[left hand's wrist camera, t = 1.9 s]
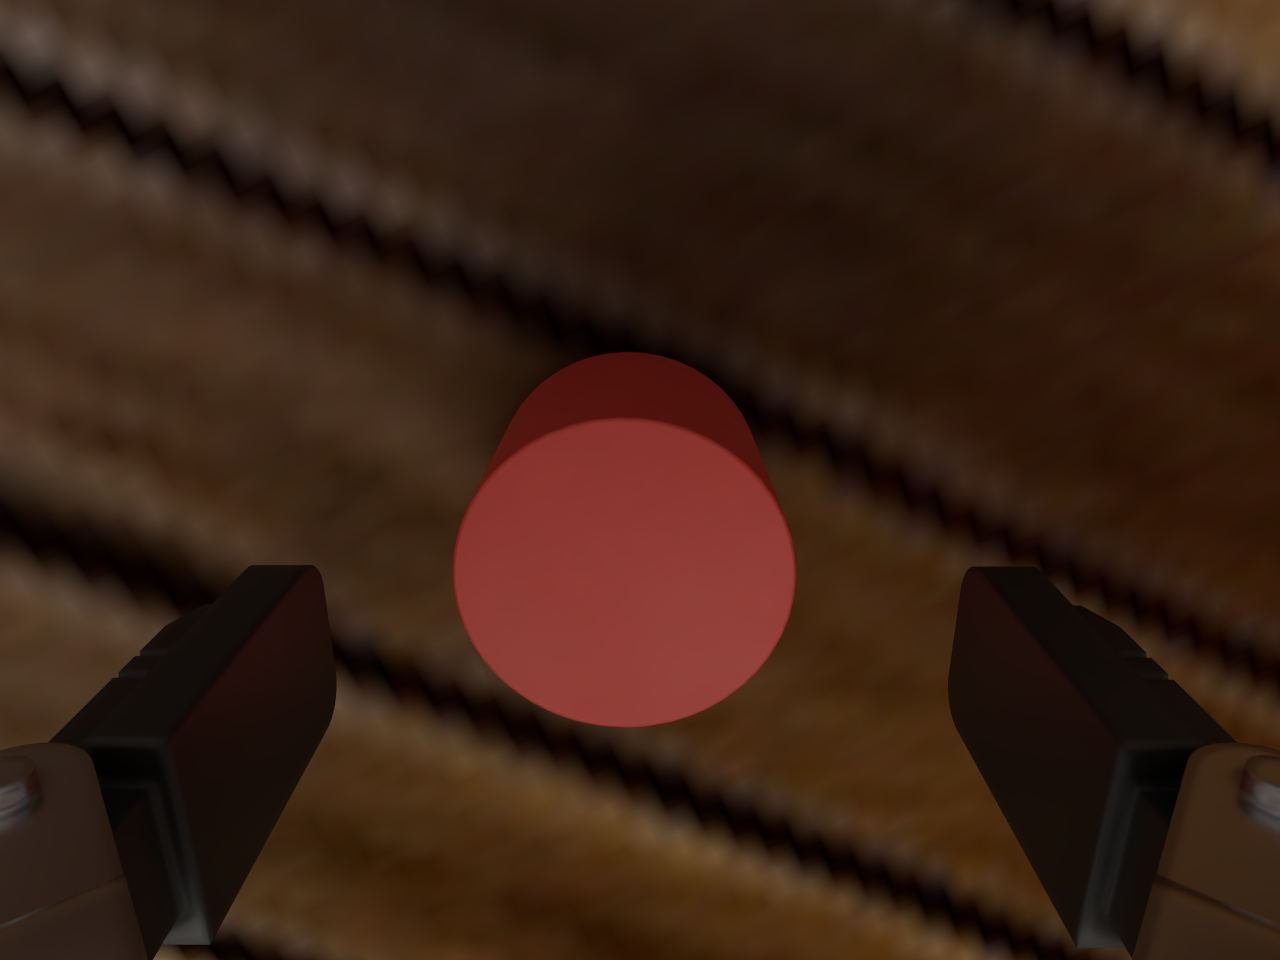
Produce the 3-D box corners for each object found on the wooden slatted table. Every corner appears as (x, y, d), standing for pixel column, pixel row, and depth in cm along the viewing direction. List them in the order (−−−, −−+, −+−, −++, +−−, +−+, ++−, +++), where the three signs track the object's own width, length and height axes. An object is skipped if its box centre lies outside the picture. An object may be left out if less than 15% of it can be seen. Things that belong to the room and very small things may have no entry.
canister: (700, 628, 18) (717, 768, 14) (465, 548, 17) (410, 670, 13) (801, 407, 16) (855, 490, 12) (547, 310, 16) (514, 364, 12)
